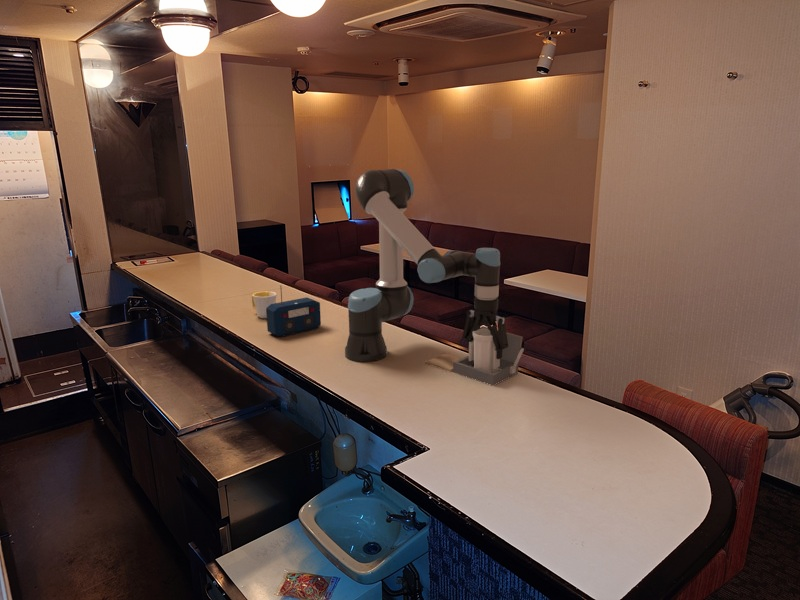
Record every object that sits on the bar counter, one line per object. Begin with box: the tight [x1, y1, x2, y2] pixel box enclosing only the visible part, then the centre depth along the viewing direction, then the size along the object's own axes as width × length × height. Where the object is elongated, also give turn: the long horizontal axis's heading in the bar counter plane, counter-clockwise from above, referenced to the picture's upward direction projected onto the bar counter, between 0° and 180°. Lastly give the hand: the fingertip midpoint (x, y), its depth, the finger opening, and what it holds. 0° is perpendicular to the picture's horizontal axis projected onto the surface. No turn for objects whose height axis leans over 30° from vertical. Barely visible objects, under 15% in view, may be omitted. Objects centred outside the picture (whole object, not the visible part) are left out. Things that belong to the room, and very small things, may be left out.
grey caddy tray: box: [452, 325, 525, 386], centre depth 178 cm, size 16×17×12 cm
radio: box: [266, 284, 322, 338], centre depth 220 cm, size 21×9×20 cm, turn 129°
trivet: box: [424, 353, 463, 372], centre depth 188 cm, size 11×11×1 cm
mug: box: [251, 291, 277, 319], centre depth 243 cm, size 14×10×10 cm
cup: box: [473, 328, 495, 374], centre depth 177 cm, size 8×8×14 cm
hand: (483, 363), depth 178 cm, fingers open, 9 cm apart
